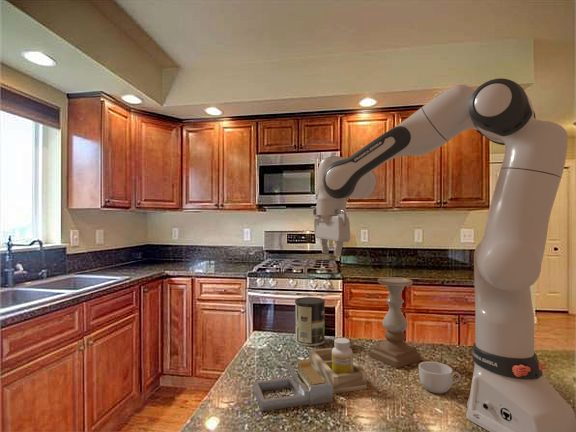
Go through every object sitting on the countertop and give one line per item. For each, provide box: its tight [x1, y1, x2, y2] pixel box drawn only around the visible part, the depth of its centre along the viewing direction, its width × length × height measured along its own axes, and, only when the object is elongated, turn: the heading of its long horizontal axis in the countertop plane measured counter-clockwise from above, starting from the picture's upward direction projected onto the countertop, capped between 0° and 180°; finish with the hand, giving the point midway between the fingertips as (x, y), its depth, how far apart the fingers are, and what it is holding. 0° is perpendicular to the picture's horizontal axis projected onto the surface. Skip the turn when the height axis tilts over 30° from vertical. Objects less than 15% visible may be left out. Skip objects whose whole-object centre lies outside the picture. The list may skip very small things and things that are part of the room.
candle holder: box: [369, 276, 422, 369], centre depth 108 cm, size 11×11×24 cm
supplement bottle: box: [332, 337, 354, 374], centre depth 92 cm, size 5×5×10 cm
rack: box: [308, 347, 368, 395], centre depth 96 cm, size 18×9×4 cm, turn 16°
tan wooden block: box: [297, 358, 325, 389], centre depth 89 cm, size 12×3×5 cm, turn 16°
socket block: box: [252, 363, 333, 412], centre depth 90 cm, size 20×17×4 cm
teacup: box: [418, 361, 462, 395], centre depth 88 cm, size 10×8×5 cm
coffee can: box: [294, 296, 326, 347], centre depth 122 cm, size 10×10×14 cm
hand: (331, 254), depth 110 cm, fingers open, 8 cm apart
